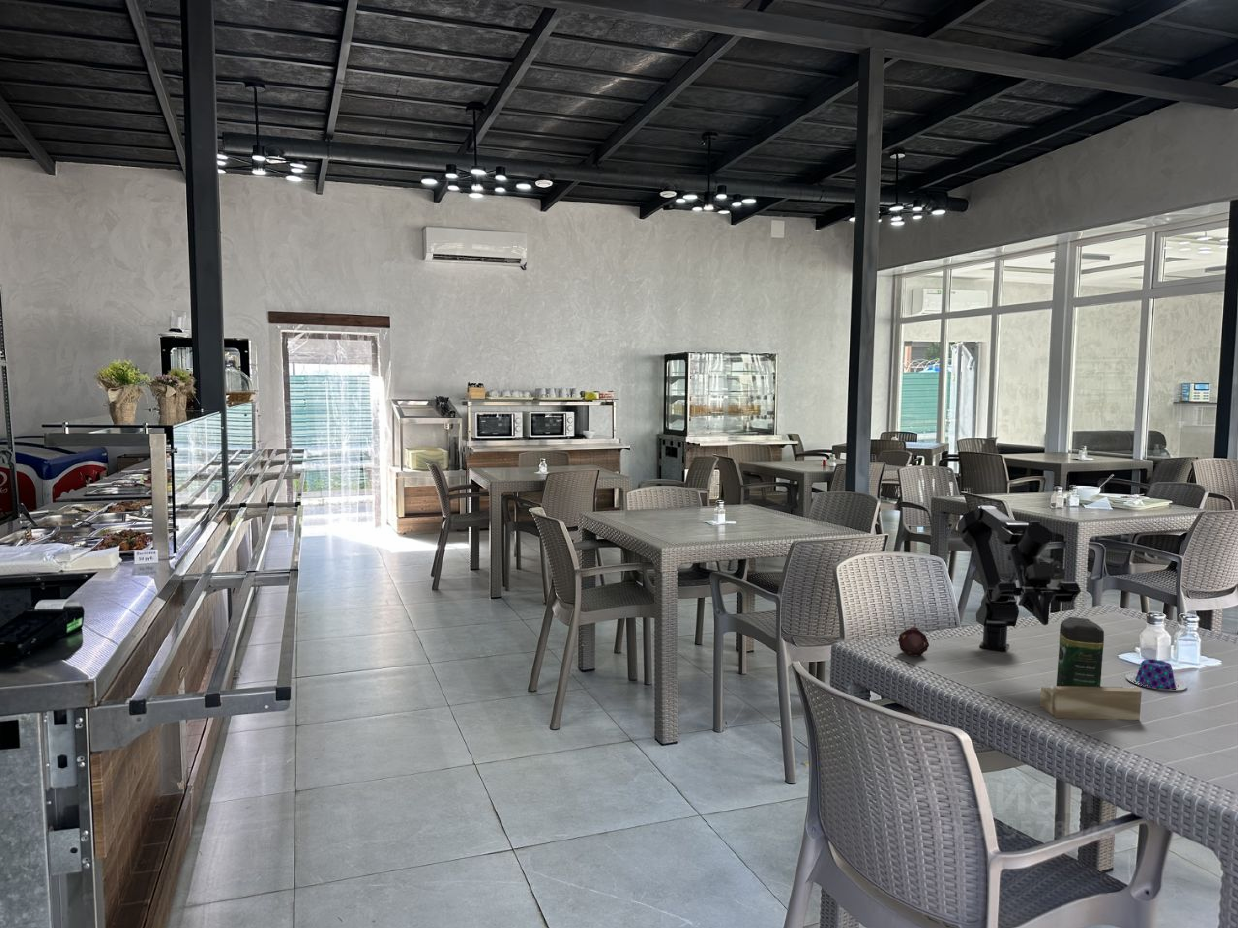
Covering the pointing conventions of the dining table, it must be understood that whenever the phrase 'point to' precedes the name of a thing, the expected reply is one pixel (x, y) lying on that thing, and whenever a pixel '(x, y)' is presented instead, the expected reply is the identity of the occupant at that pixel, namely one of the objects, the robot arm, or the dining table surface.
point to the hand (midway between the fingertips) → (1045, 624)
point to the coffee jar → (1080, 653)
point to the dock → (1092, 702)
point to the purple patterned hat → (1156, 675)
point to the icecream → (913, 642)
